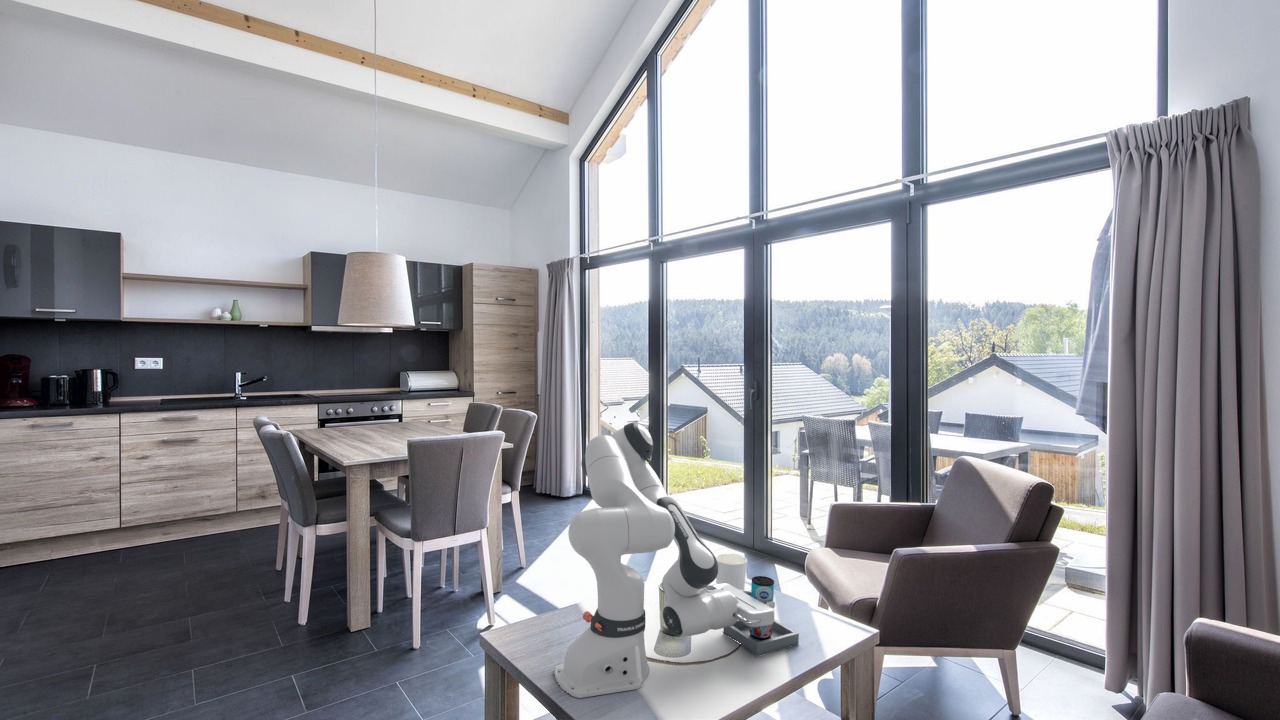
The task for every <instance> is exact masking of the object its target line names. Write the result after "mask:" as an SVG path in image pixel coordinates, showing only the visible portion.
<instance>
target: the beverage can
mask: <svg viewBox="0 0 1280 720" xmlns="http://www.w3.org/2000/svg"><path fill="white" fill-rule="evenodd" d="M750 590H751V597H753V598H755V599H756V600H758V601H760V602H762V603H765V604H766V601H767V600H772V601H773V602H774V597H775V595H774V593H775V581H774V579H773V578H771V577H767V576H765V575H763V576H762V575H756V576H753V577H752V578H751V588H750ZM749 631H750V634H751V636H752V637H754V638H756V639H760V640H766V639H769V638H770V637H771V635H772V624H771V625H767V626H761V627H750V629H749Z"/></svg>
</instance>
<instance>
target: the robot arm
mask: <svg viewBox="0 0 1280 720" xmlns="http://www.w3.org/2000/svg"><path fill="white" fill-rule="evenodd" d="M653 450H654V441H653V438H652V436H651V433H650V432H649V430H648V429H647V428H646V427H645V426H643V424H641V423H640V422H637V421H633V422H630V423H627V424H625V425H624V426H623V427H622V428H619V429H617V430H615V431H614V432H612V433H611V434H609V435H608V434H600V435H597V436H595V437H593V438H592V439H590V440H589V441H588V443H587V444H586V447H585V452H584V454H583V456H582V458H581V463H580V465H581V468H582V471H583V473H584V474H585V476H586V477H587V481H588V487H589V490H590V494H591V495H590V496H591V498H592V500H593V502H594V503H595V504H596V505H597V506H598V507H596V508H591V509H587V510H583V511H580V512H577V513H576V514H575V515H573V518H572V519H571V520H570V523H569V526H568V540H569V543H570V545H571V548H572V549H573V551H575V552H576V554H578V555H579V556H581V557H582V558H583V559H584V560H585V561H587V563H588V564H589V565H590V567H591V569H592V570H593V572H594V575H595V580H596V588H597V589H596V590H597V607H596V608H597V609H596V610H595V612H594V615H593V614H592V613H591V612H590V611H585V612H584V613H582V619H583V620H584V621H585V622H586V623H590V624H589V627H588V628H587V629H586V630H585V631H583V633H582V634H580V636H578V638H576V639H575V640H574V641H573V642H572V643H570V644H569V645H568V647H567V648H566V649H567V650H566V652H565V655H564V662H562V663H560V664H558V665H556V666H555V668H554V673H553V674H554V675H555V676H554V679H555V681H556V682H558V683H557V684H558V686H559V685H560V686H559V687H560V688H561V690H563V691H564V692H565V691H566V692H565V693H566V694H568V693H569V694H568V695H570V694H571V695H570V696H572V697H574V698H577V699H578V698H579V699H581V698H582V699H583V698H588V697H594V696H595V697H596V696H601V695H607V694H614V693H619V692H626V691H632V690H638V689H639V690H640V688H642V686H643V681H644V680H645V678H646V677H647V676H648V675H649V673H650V666H649V663H648V659H647V658H648V657H647V653H646V644H645V630H646V610H645V581H644V578H643V576H642V574H641V573H640V572H639V571H637V570H636V569H634V568H633V567H631V566H628V565H626V564H624V563H622V559H621V558H622V556H623V555H633V554H646V553H647V554H649V553H653V552H657V551H660V550H663V549H665V548H668V547H669V546H670V545H671V544H672V542H673V541H674V543H675V545H676V547H677V548H678V557H677V559H676V560H675V562H674V563H673V564H672V565H671V566H670V568H669V569H668V570H667V572H666V573H665V574H664V576H663V577H662V581H661V587H662V591H663V594H664V607H663V610H662V618H663V622H664V624H665V625H664V626H666V628H667V630H668V631H669V632H670V634H672V635H674V636H677V637H691V636H697V635H701V634H705V633H707V632H708V631H711V630H714V631H715V630H717V631H718V630H719V629H720V630H721V629H724V628H725V627H729V626H732V625H734V624H735V623H736V621H737V619H738V620H739V621H741V622H743V623H744V624H746V625H747V626H750V627H761V626H767V625H771V624H773V622H774V619H775V607H776V603H775V601H774V600H773V601H772V600H767V601H766V604H765V603H762V602H760V601H758V600H756V599H755V598H753V597H751V589H749V590H747V589H746V590H745V589H744V590H739V589H737V588H735V587H733V586H731V585H730V584H726V583H720V584H716V583H715V584H712V582H714V581H715V580H716V577H717V575H718V563H717V560H716V556H715V554H714V553H713V552H712V550H711V549H710V548H709V547H708V546H707V545H706V544H705V542H704V541H703V540H702V538H701V537H700V536H699V534H698V533H697V531H696V529H695V528H694V526H693V525H692V523H691V521H690V519H689V518H688V517H687V515H686V512H685V511H684V510H683V508H682V507H681V506H680V504H679V503H678V502H677V501H676V500H675V499H674V498H672V497H670V496H669V495H668V494H667V492H666V490H665V489H666V488H665V487H664V485H663V484H662V483H663V482H662V481H661V479H660V478H659V476H658V474H657V473H656V472H655V470H654V469H653V467H652V466H651V465H650V464H649V463H650V462H651V461H652V454H653V452H654V451H653Z"/></svg>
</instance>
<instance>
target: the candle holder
mask: <svg viewBox="0 0 1280 720" xmlns="http://www.w3.org/2000/svg"><path fill="white" fill-rule="evenodd" d="M715 558H716V560H717V563H718V575H717V577H716V579H715V580H716V581H715V582H716V583H715V584H720V583H726V584H730V585H731V586H733V587H735V588H737V589H739V590H745V586H746V573H747V563H748V559H747V557H745V556H743V555H740V554H736V553H721V554H718V555H717V556H715Z"/></svg>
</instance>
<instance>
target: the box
mask: <svg viewBox="0 0 1280 720" xmlns="http://www.w3.org/2000/svg"><path fill="white" fill-rule="evenodd" d="M722 629H723V631H722V633H724V635H725V636H726V635H727V637H728V636H729V637H731V638H732V639H734V640H736V641H738V642H739V643H741V645H742V646H741V645H740V646H741V647H742V648H744V649H745V650H747V651H749V653H751V654H752V655H754V656H756V657H761V656H764V655H767V654H771V653H774V652H777V651H782V650H784V649H788V647H789V648H791V647H790V646H792V647H795V646H798V645H799V637H800V636H799V635H800V633H799V632H797V631H796V630H795V629H792V628H791V627H789V626H787V625H785V624H784V623H782V622H780V621H778V620H776V619H775V618H774V622H773V624H772V635H771V637H770V638H769V639H766V640H760V639H756V638H754V637H752V636H751V634H750V631H749V629H750V626H747V625H746V624H744V623H743V622H741V621H739V620H738V619H737V621H736V623H735V624H734V625H732V626H729V627H725V628H722ZM729 637H728V638H729ZM731 638H730V639H731ZM732 639H731V640H732ZM734 640H733V641H734ZM797 644H798V645H797ZM794 645H795V646H794Z"/></svg>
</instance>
